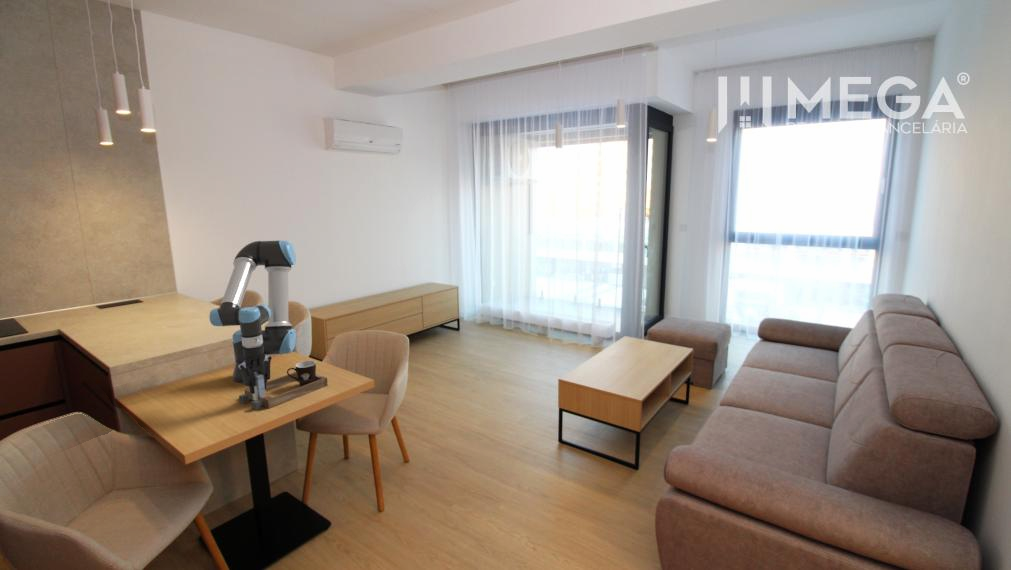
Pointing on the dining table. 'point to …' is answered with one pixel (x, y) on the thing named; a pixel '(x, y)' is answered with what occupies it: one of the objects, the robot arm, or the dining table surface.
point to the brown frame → (286, 396)
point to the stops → (255, 404)
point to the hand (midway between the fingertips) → (259, 398)
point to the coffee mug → (305, 372)
